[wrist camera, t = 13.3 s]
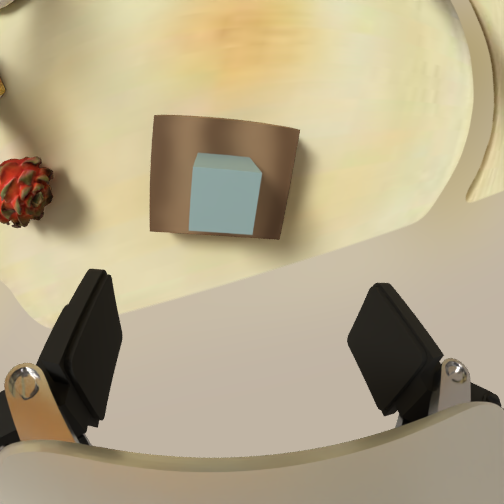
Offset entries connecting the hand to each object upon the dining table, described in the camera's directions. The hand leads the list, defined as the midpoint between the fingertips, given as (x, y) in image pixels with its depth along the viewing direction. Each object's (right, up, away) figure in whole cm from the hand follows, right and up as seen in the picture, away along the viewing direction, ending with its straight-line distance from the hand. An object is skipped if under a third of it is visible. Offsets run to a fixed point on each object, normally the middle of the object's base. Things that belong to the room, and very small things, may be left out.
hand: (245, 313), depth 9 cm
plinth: (-3, +11, +21) cm, 24 cm away
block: (-3, +9, +17) cm, 20 cm away
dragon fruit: (-28, +11, +17) cm, 35 cm away
